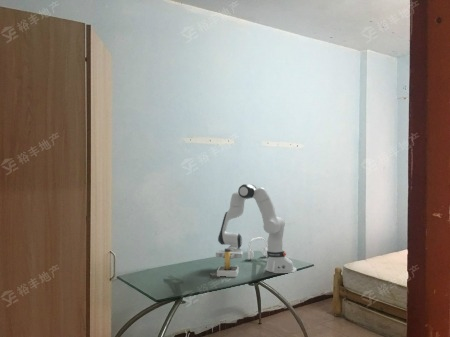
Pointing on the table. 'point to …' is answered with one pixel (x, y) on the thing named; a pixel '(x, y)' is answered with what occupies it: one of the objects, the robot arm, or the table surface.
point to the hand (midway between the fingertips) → (227, 256)
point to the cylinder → (227, 259)
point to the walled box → (228, 271)
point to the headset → (264, 249)
